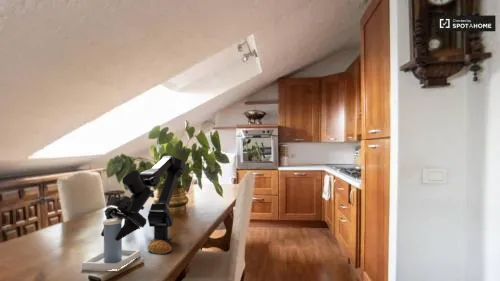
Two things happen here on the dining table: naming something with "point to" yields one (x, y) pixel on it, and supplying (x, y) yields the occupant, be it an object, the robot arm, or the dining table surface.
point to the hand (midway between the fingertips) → (108, 237)
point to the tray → (99, 265)
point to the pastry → (159, 246)
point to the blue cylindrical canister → (112, 240)
